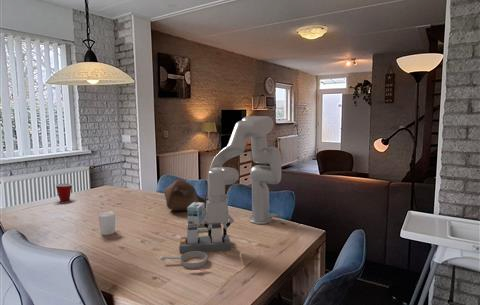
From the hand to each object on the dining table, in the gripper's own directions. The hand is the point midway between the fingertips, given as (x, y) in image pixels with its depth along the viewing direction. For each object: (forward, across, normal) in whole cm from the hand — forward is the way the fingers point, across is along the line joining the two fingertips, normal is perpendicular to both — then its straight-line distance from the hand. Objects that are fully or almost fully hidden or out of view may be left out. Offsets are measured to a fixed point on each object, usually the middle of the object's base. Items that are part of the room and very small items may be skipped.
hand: (217, 236), depth 140 cm
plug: (+4, 0, 0) cm, 4 cm away
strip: (+5, +6, 0) cm, 8 cm away
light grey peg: (+4, +11, 0) cm, 12 cm away
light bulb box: (+6, +10, -34) cm, 36 cm away
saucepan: (+6, +14, +14) cm, 20 cm away
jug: (+6, +16, -60) cm, 62 cm away
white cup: (+6, +56, -26) cm, 62 cm away
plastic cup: (+6, +106, -94) cm, 141 cm away
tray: (+5, +6, -14) cm, 16 cm away
